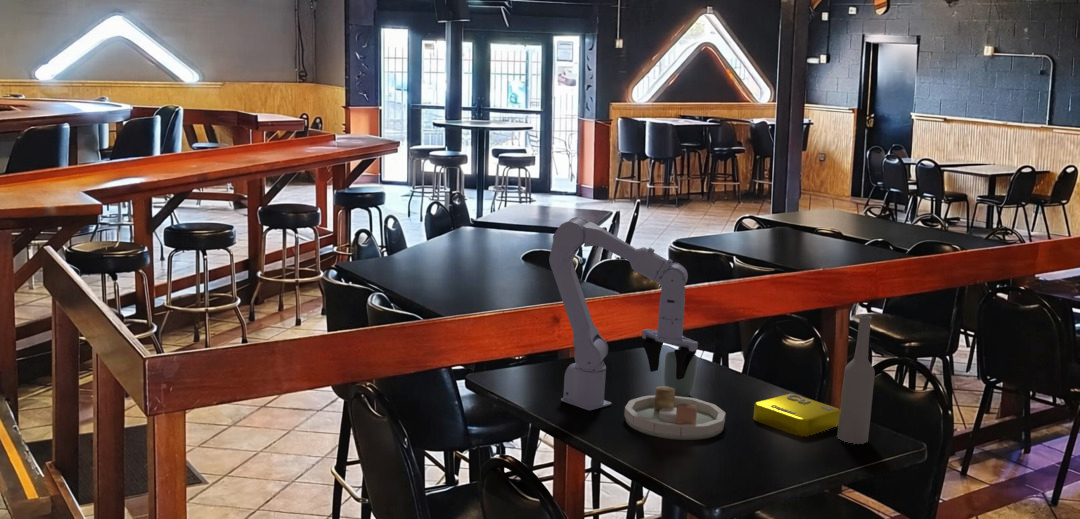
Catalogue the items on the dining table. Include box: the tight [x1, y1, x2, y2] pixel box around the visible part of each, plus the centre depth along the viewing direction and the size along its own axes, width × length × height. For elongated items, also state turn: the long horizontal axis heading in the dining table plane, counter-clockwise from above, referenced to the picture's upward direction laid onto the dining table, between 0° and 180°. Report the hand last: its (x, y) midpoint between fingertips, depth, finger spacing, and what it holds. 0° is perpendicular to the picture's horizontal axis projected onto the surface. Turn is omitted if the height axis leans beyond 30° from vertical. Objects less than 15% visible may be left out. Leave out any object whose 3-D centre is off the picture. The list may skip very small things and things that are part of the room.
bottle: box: [836, 314, 876, 445], centre depth 229 cm, size 7×7×28 cm
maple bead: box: [654, 385, 675, 412], centre depth 242 cm, size 4×4×5 cm
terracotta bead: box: [676, 403, 697, 425], centre depth 230 cm, size 4×4×5 cm
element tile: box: [752, 393, 840, 437], centre depth 241 cm, size 15×15×5 cm
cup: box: [663, 350, 698, 397], centre depth 257 cm, size 8×8×10 cm
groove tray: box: [623, 394, 726, 441], centre depth 236 cm, size 22×22×3 cm
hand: (666, 374), depth 241 cm, fingers open, 7 cm apart
